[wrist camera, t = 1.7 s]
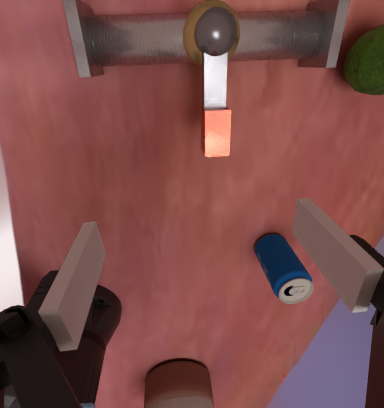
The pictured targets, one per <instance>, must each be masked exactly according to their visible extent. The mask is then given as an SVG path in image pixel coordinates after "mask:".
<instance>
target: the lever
mask: <svg viewBox="0 0 384 408" xmlns="http://www.w3.org/2000/svg"><path fill="white" fill-rule="evenodd" d="M236 36H237V25H236V21H235V18H234V16H233V15H232V14H231V12H230V11H228V10H227V9H225V8H223V7H212V8H209V9H208V10H206V11H205V12H204V13H203V14H202V15H201V17H200V18H199V20H198V21H197V23H196V25H195V29H194V40H195V43H196V46H197V48H198V49H199V50H200V52H201V53H202V106H201V148H202V151H203V153H204V155H205V157H214V156H229V150H230V126H231V110H230V109H229V108H228V107H226V83H227V52H228V51H229V50H230V49H231V48H232V46H233V45H234V43H235V40H236Z"/></svg>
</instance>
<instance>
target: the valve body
mask: <svg viewBox="0 0 384 408" xmlns="http://www.w3.org/2000/svg"><path fill="white" fill-rule="evenodd" d="M62 1H63V5H64V10H65V14H66V19H67V23H68V28H69V32H70V37H71V41H72V46H73V50H74V55H75V59H76V64H77V68H78V73H79V77H93V76H99V75H104V71H103V66H116V65H144V64H171V63H193V64H194V65H197V66H202V53H201V52H200V50H199V49H198V48H197V46H196V43H195V40H194V29H195V25H196V23H197V21H198V20H199V18H200V17H201V15H202V14H203V13H204V12H205V11H206V10H208V9H209V8H212V7H223V8H225V9H227V10H228V11H230V12H231V14H232V15H233V16H234V18H235V21H236V25H237V36H236V40H235V43H234V45H233V46H232V48H231V49H230V50H229V51H228V52H227V61H253V60H281V59H299V65H298V67H317V68H331V67H336V63H337V59H338V54H339V50H340V45H341V40H342V36H343V31H344V26H345V22H346V17H347V12H348V8H349V3H350V0H317V1H315V2H312V3H310V4H308V6H307V11H270V12H234V11H233V9H232V8H231V7H230V6H229V5H228V4H226V3H225V2H223V1H220V0H206V1H203V2H201V3H199V4H198V5H197V6H196V7H194V9H193V10H192V11H191V12H190V13H184V14H141V15H98V16H93V10H92V8H90V7H89V6H88V5H86V4H85V3H84V2H82V1H81V0H62Z"/></svg>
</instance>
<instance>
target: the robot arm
mask: <svg viewBox="0 0 384 408" xmlns="http://www.w3.org/2000/svg"><path fill="white" fill-rule="evenodd" d="M292 233H293V235H294V236H295V237H296V239H297V240H298V241H299V243H300V244H301V245H302V247H303V248H304V249H305V251H306V252H307V253H308V255H309V256H310V257H311V259H312V260H313V261H314V263H315V264H316V265H317V267H318V268H319V269H320V271H321V272H322V274H323V275H324V276H325V278H326V279H327V280H328V282H329V283H330V284H331V286H332V287H333V288H334V290H335V291H336V292H337V294H338V295H339V296H340V298H341V299H342V300H343V302H344V303H345V304H346V306H347V307H348V308H349V310H350V311H351V312H352V313H355V312H363V311H367V310H368V308H369V305H370V303H372V304H373V305H374V307H375V308H376V311H375V314H374V316H373V318H372V320H371V323H370V324H371V325H373V333H372V344H371V354H370V363H369V373H368V383H367V384H368V385H367V394H366V404H365V408H384V257H383V256H382V255H381V254H379V253H377V251H376V250H375V249H374V248H373V247H371V245H369V244H368V243H367V242H366V241H365V240H364V239H362V238H360V237H358V236H356V235H348V234H347V233H346V232H345V231H343V230H342V229H341V228H340V227H339V226H338V225H337V224H336V223H335V222H334V221H333V220H332V219H331V218H330V217H329V216H328V215H326V214H325V213H324V212H323V211H322V210H321V209H320V208H319V207H318V206H317V205H316V204H315V203H314V202H313V201H312V200H311V199H309V198H301V199H297V204H296V211H295V217H294V224H293V231H292ZM105 257H106V252H105V249H104V245H103V242H102V239H101V236H100V232H99V229H98V226H97V223H96V221H93V222H84V223H83V225H82V227H81V229H80V231H79V233H78V235H77V237H76V239H75V241H74V243H73V245H72V247H71V249H70V250H69V252H68V254H67V256H66V258H65V260H64V262H63V264H62V266H61V268H60V270H56V271H50V272H49V273H48V274H47V275H46V276H45V277H44V278H43V279H42V280H41V282H40V284H39V286H38V289H36V291H35V293H34V295H33V296H32V298H31V300H30V302H29V303H28V305H27V307H26V308H25V307H24V306H20V305H17V306H12V307H9V308H7V309H5V310H3V311H2V312H0V408H95V400H96V395H97V390H98V385H99V380H100V375H101V370H102V365H103V360H104V355H105V350H106V346H107V344H108V343H109V341H110V339H111V337H112V335H113V334H114V332H115V330H116V328H117V327H118V325H119V322H120V318H121V312H122V306H121V303H120V301H119V299H118V298H117V297H116V296H115V295H114V294H113V293H112V292H110V291H109V290H107V289H105V288H103V287H100V286H97V283H98V280H99V277H100V274H101V270H102V267H103V264H104V261H105Z"/></svg>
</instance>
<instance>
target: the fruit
mask: <svg viewBox="0 0 384 408" xmlns="http://www.w3.org/2000/svg"><path fill="white" fill-rule="evenodd" d="M344 75H345V78H346V80H347V82H348V83H349V84H350V85H351V87H352V88H353V89H354V90H355V91H357V92H360V93H365V94H371V95H383V94H384V25H381V26H379V27H377V28H375V29H372V30H370V31H368V32H366V33H365V34H364V35H362V36H361V37H360V38H359V39H358V40H357V41H356V42H355V43H354V44H353V45H352V47H351V48H350V50H349V51H348V53H347V55H346V58H345V62H344Z"/></svg>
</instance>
